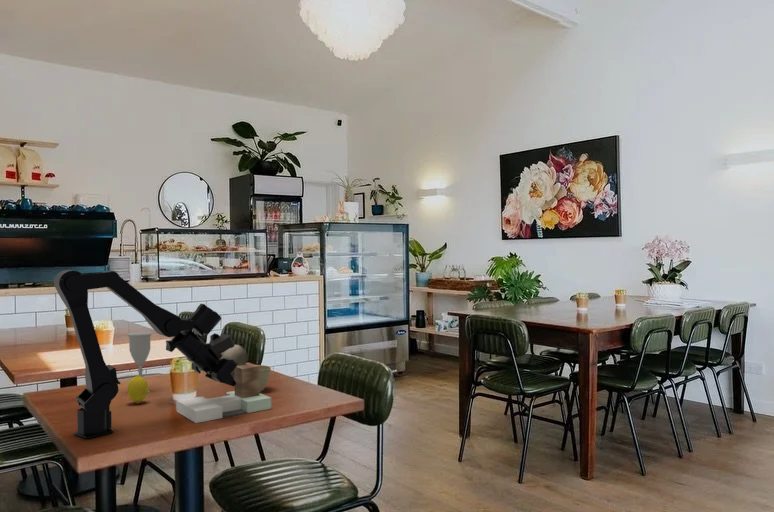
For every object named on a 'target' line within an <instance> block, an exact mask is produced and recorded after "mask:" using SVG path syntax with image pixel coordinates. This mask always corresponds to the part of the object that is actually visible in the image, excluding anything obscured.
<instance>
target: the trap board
mask: <svg viewBox="0 0 774 512" xmlns="http://www.w3.org/2000/svg"><path fill="white" fill-rule="evenodd" d="M175 400H176V399H175ZM175 405H176V412H177V414H180V415H182V416H184V418H187V419H188V420H189V421H192V422H193V423H195V424H198V423H203V422H208V421H213V420H218V419H224V418H229V417H230V418H231V417H233V416H240V415H245V414H246V415H247V414H250V413H255V412H256V413H257V412H261V411H266V410H270V409H272V396H271V397H270V396H268V395H266V394H263V393H261V392H259V396H253V397H247V398H241V397H238V396H236V395H235V390H232V391H227V392H225V395H224V396H218V397H211V398H206V397H204V396H202V395H201V396H195V397H188V398H183V399H177V400H176V403H175Z"/></svg>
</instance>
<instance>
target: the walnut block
mask: <svg viewBox="0 0 774 512" xmlns="http://www.w3.org/2000/svg"><path fill="white" fill-rule="evenodd" d="M256 365H257V364H253V363H248V364H247V363H246V365H240V366H237V367H236V368H235V369H234V378H233V379H234V380H235V382H236V385H235V386H234V391H235V395H236V396H238V397H241V398H247V397H253V396H259V393H260V392H259V366H256Z"/></svg>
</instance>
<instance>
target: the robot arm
mask: <svg viewBox="0 0 774 512" xmlns="http://www.w3.org/2000/svg"><path fill="white" fill-rule="evenodd" d="M53 279H54V280H53V286H54V289H55V290H56V292H57V294H58V295H59V297H60V299H61V301H62V302H63V304H64V305H65V307H66V308H67V310H68V312H69V316H70V319H71V323H72V326H73V329H74V332H75V335H76V336H75V337H76V339H77V342H78V345H79V348H80V351H81V355H82V359H83V362H84V365H85V366H84V367H85V369H84V370H85V371H84V372H85V373H84V377H85V378H84V379H85V388H84V389H83V390H82V391H81V392H80V394H79V395H77V396H76V398H75V400H76V402H77V404H78V406H79V407H80V408H78V409H77V410H76V412H77V413H76V414H77V416H76V417H77V418H76V419H77V425H76V426H77V431H74V432H73V435H75V436H77V437H78V436H79V437H81V438H83V439H85V440H87V439H92V438H93V439H94V438H97V437H100V436H105V435H107V434H111V433H113V432H114V429H112V428H113V427H112V425H113V424H112V423H113V422H112V419H113V417H112V411H111V409H110V408H111V407H110V406H111V403H112V401H113V400H114V399H115V398H116V397H117V395H118V393H119V389H120V388H119V385H121V383H122V382H121V381H120V380H119V379H118V374H117V368H116V367H114V366H112V365H111V364H106V362H105V359H104V357H103V354H102V350H101V347H100V342H99V339H98V336H97V332H96V329H95V326H94V324H93V320H92V316H91V313H90V310H89V306H88V305H89V290H96V289H97V290H98V289H103V288H107V290H109V291H110V292H112V294H114V295H115V296H117V297H118V298H119V299H120V300H122V301H123V302H125V303H126V304H127V305H128V306H130V307H131V308H133V309H134V310H135V311H136V312H138V313H139V314H140V315H141V316H142V317H143V318H144V319H145V321H146V322H147V323H148V325H149V326H150V327H151V328H152V329H153V330H154V331H155V333H157V334H158V335H160V336H164V337H167V338H172V339H169V340H165V344H166V345H165V350H166V351H167V352H170V353H173V352H174V351H175V349H177V350H178V351H179V352H180V353H181V354H182V355H183V356H185V357H186V360H187V361H189V362H190V363H191V362H192V363H191V370H193V372H195V373H197V374H199V375H200V374H201V373H202V372H203V373H206V374H205V377H206V378H209V379H211V380H213V381H214V382H219V383H221V384H224V385H225V384H226V385H227V386H230V387H235V385H236V382H235V380H234V378H233V377H232V375H231V373H232V371H233V370H234V369H235V368H236V367H237V363H236V362H235V361H234V360H233V359H230V358H223V359H220V358H221V357H222V356H223V355H222V354H221V353H223V352H225V351H226V350H228V349H230V348H233V347H234V346H235V345H236V344H235V343H234V341H233V339H232V337H231V335H230V334H218V333H213V334H211V335H210V336H209V338H210V340H209V343H206V342H205V341H203V339H201V338H200V337H199V336H201V337H202V336H203V335H205V336H208V335H209V334H210V333H211V332H212V331H213V330H214V329H215V327H216V326H217V325H218V324H219V323H220V322H221V320H222V317H221V315H220V314H219V313H218V312H217V311H214V310H213V309H211V308H210V307H208V306H207V305H206V304H204V303H200V304H199V305H198V306H197V307H196V309H195V310H194V311H193V312H192V314H191V315H189V317H188V318H187V317H184V316H183V317H180V316H178V315H177V314H174V313H173V312H171V311H169V310H168V309H165V308H162V307H161V306H159V305H157V304H155V303H154V302H153V301H152V300H150V299H149V298H148V297H146V296H145V295H144V294H143V293H141V292H140V291H139V290H137V288H135V287H134V286H133V285H132V284H130V283H129V282H127V281H126V280H125V278H123V277H121V276H120V275H119V273H118V272H116V271H114V270H104V271H97V272H95V271H94V272H80V271H77V270H70V269H66V270H62V271H59V273H57V275H56V276H55V277H54V278H53ZM198 335H199V336H198Z"/></svg>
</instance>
